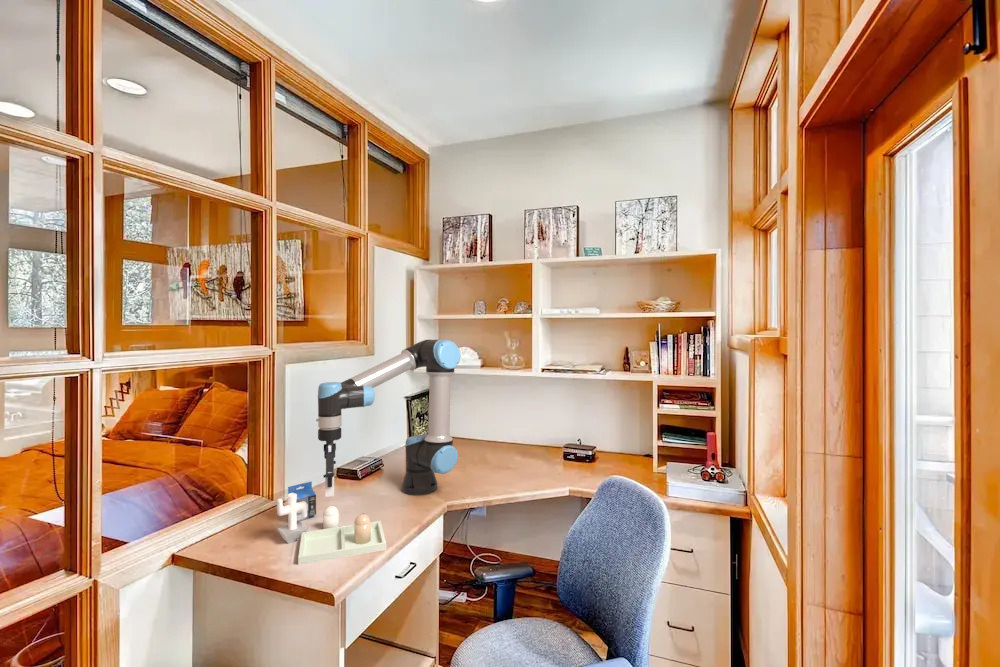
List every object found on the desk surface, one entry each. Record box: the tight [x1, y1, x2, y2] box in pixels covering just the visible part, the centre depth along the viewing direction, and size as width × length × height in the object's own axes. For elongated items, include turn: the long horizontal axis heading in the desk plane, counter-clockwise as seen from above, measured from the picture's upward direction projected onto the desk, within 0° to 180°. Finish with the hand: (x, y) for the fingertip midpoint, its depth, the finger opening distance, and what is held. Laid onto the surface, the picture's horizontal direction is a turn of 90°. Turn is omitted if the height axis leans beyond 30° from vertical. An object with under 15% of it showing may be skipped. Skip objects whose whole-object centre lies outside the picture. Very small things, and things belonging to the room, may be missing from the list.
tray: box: [297, 520, 387, 566], centre depth 146 cm, size 25×18×3 cm
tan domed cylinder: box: [353, 513, 371, 544], centre depth 148 cm, size 5×5×8 cm
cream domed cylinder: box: [322, 505, 340, 529], centre depth 158 cm, size 5×5×8 cm
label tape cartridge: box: [287, 481, 317, 522], centre depth 169 cm, size 9×4×12 cm, turn 135°
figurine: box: [276, 493, 308, 544], centre depth 152 cm, size 7×9×15 cm
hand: (329, 489), depth 158 cm, fingers open, 13 cm apart
